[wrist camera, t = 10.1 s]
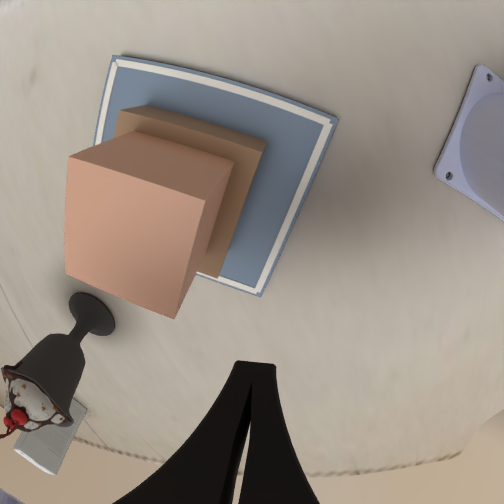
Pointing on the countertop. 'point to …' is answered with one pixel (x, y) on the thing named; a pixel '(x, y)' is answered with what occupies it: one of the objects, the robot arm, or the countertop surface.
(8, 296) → the countertop surface
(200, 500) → the robot arm
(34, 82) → the countertop surface
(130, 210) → the terracotta block
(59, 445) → the skincare box
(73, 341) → the sundae
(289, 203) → the blueprint board
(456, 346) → the countertop surface
